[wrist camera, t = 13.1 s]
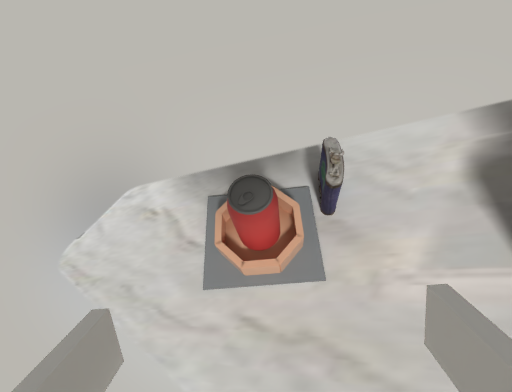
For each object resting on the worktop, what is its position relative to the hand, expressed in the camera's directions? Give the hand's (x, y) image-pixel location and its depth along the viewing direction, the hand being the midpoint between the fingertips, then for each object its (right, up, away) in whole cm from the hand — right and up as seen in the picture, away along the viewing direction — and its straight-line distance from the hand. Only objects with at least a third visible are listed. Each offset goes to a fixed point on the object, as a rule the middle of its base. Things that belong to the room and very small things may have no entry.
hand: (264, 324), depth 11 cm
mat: (0, -1, +32) cm, 32 cm away
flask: (+12, +6, +35) cm, 37 cm away
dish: (0, -1, +32) cm, 32 cm away
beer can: (0, -1, +31) cm, 31 cm away
